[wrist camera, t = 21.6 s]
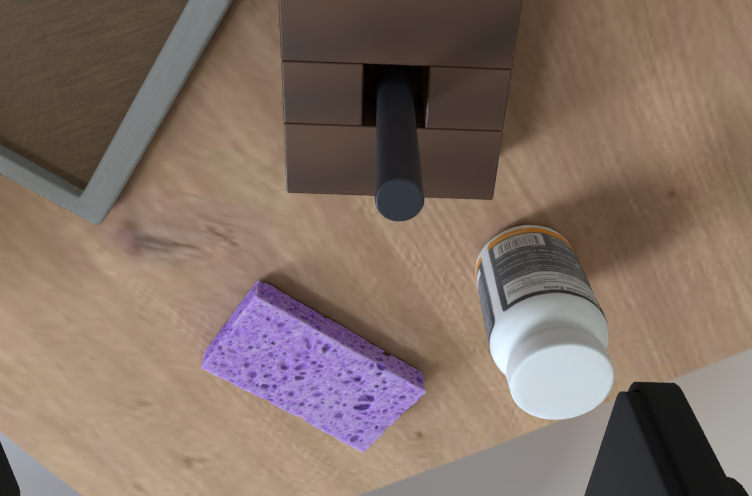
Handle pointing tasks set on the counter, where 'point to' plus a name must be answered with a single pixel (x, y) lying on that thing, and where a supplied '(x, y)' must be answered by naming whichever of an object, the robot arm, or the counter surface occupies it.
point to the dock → (432, 111)
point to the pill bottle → (543, 323)
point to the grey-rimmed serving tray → (92, 90)
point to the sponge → (312, 367)
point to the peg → (397, 147)
